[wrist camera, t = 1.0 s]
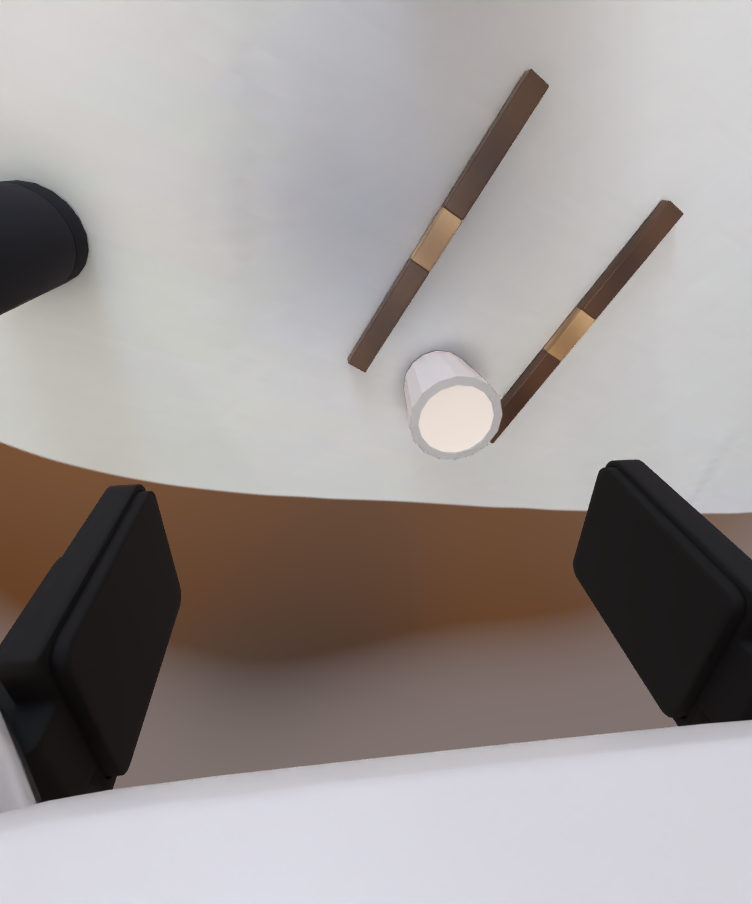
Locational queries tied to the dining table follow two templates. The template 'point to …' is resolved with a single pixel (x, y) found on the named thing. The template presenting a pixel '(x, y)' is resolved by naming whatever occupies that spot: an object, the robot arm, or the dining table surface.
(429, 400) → the white cup
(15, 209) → the wine bottle
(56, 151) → the dining table surface
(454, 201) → the guide rails
